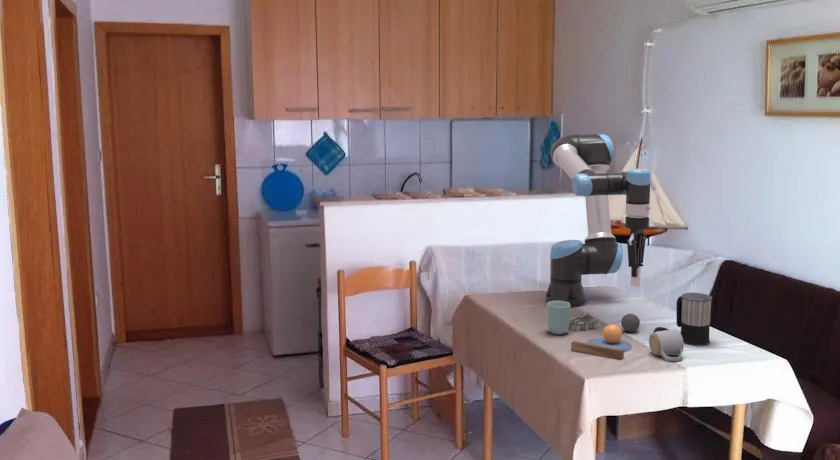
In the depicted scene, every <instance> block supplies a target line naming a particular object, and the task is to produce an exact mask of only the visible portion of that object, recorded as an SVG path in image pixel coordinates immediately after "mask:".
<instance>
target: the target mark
mask: <svg viewBox="0 0 840 460" xmlns="http://www.w3.org/2000/svg"><path fill="white" fill-rule="evenodd" d="M585 343H589V344H594V345H600V346H606V347H611V348H617V349H623V350H624V353H625V352H629V351H630V350H631V349H632V347H633V345H632V344H631V343H630V342H628V341H626V340H622V339H620V341H618V342H617V343H609V342H607V341H606V340H605V339H604V338H603V337H602V338H601V337H599V338H593V339H590V340H587V341H586V342H585Z"/></svg>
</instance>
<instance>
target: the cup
mask: <svg viewBox="0 0 840 460" xmlns="http://www.w3.org/2000/svg"><path fill="white" fill-rule="evenodd" d="M570 319H571V307H570V303H569V302H566V301H550V302H548V303H546V325H547V326H546V327H547V330H548V332H550V333H551V334H553V335H564V334H566V333H567V332H568V331H569V329H570V328H569V325H570Z"/></svg>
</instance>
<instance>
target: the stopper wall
mask: <svg viewBox="0 0 840 460" xmlns="http://www.w3.org/2000/svg"><path fill="white" fill-rule="evenodd" d="M570 351H572V352H578V353H581V354H582V353H583V354H588V355H594V356H600V357H605V358H611V359H614V360H615V359H617V360H623V359H624V357H625V352H624V350H623V349H617V348H611V347H606V346H600V345H594V344H589V343H586V342H582V341H576V340H573V341H572V342H571V344H570Z"/></svg>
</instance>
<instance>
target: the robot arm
mask: <svg viewBox="0 0 840 460" xmlns="http://www.w3.org/2000/svg"><path fill="white" fill-rule="evenodd" d="M550 159H551V161H552V162H553V164H554V165H555V166H556V167H558V168H559V169H562V171H564V172H565V174H566V175H567V176H568V177H569V178H570V179H571V180H572V181H571V189H572V192H573V194H574V196H577V197H579V196H580V197H581V196H582V197H585V200H584V201H585V211H586V224H587V236H586V237H585V239H584V243H583V241H582V240H578V239H567V240H561V241H557V242H554V244H552V246H551V247H550V256H549V258H550V269H549V270H550V276H549V277H550V278H549V279H550V280H549V281H550V282H549V285H548V287H547V290H546V293H545V297H544V298H545V300H544V301H545V303H546V304H547V303H548V302H550V301H566V302H569V303H570V308H572V307H573V308H574V307H580V306H581V307H582V306H584V305H585V304H586V303H587V296H586V293H585V289H584V287H583V283H582V276H583V275H584V276H585V275H586V276H587V275H607V274H608V275H609V274H615V273H617V272H618V271H619V270H620V268H621V266H622V263H623V256H624V254H623V247H622V244H621V243H620V242H617V238H616V236H615V235H614V234H613V233H612V227H611V226H612V225H611V215H610V213H611V212H610V203H609V202H610V201H609V196H625V215H626V216H625V222H624V223H625V224H624V226H625V228H626V229H630V231H629V234H628V238H629V239H628V238H627V239H626V245H627V260H628V261H627V262H628V265H627V266H628V268H630V286H631V287H635V288H636V287H637V288H638V287H640V286H641V267H644V264H643V263H644V257H645V249H646V247H645V246H646V241H647V235H648V234H645V230H646V229H649V227H650V217H649V215H650V210H652V207H651V206H650V200H651V183H652V179H651V171H650V170H649V169H648V168H629V169H628V170H627V171H619V172H608V171H609V169H610V168H611V167H610V165H611V164H613V162H614V160H615V148H614V143H613V141H612V139H611V138H610V137H609V136H608V135H607V134H604V133H603V134H602V133H600V134H599V133H588V134H587V133H586V134H567V135H564V136H561V137H560V138H558V139H556V141H555V142H554V143H553V145H552V147H551V149H550Z"/></svg>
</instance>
